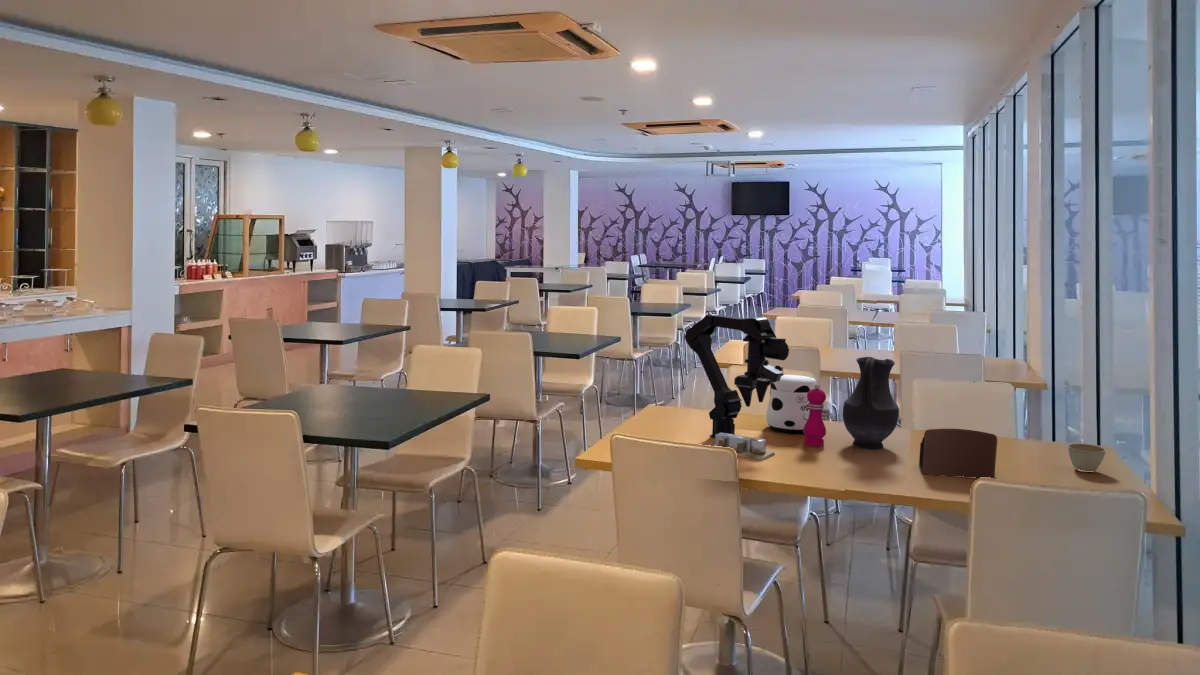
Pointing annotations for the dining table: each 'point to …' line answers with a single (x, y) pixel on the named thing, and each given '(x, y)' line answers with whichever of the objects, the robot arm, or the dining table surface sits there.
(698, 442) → the dining table surface
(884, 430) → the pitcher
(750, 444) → the round-headed grey paddle
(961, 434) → the letter holder
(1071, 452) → the grey bowl
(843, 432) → the dining table surface
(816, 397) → the pepper mill
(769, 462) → the dining table surface
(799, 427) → the milk container
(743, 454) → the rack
